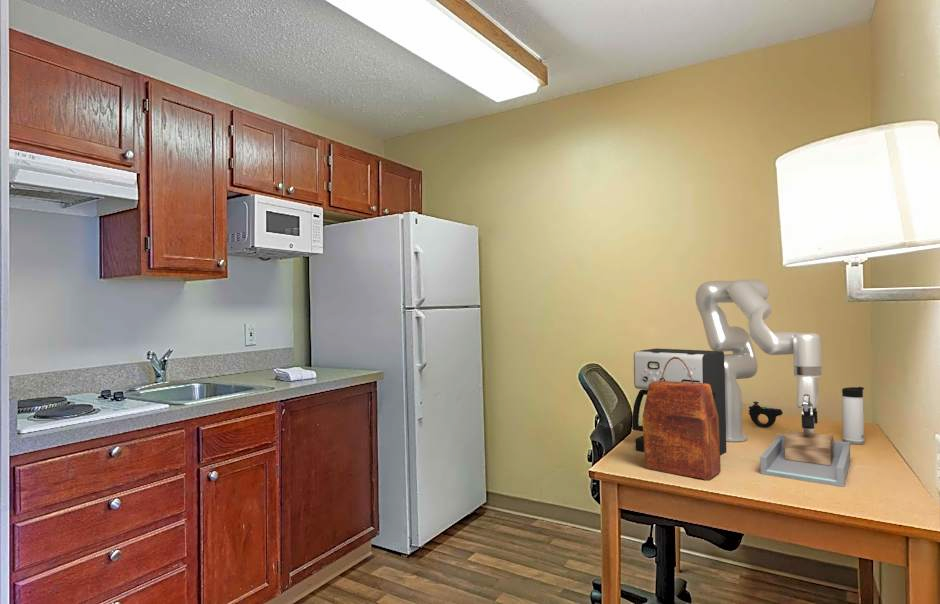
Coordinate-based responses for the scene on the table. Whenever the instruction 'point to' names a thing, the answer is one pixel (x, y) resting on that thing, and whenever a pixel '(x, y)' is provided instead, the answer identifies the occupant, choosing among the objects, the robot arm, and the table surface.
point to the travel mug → (853, 415)
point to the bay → (806, 464)
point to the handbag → (681, 428)
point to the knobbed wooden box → (809, 447)
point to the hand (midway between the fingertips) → (809, 425)
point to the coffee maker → (680, 379)
